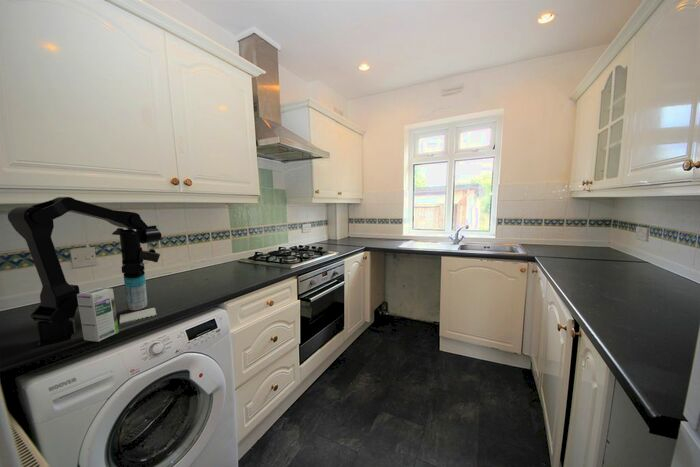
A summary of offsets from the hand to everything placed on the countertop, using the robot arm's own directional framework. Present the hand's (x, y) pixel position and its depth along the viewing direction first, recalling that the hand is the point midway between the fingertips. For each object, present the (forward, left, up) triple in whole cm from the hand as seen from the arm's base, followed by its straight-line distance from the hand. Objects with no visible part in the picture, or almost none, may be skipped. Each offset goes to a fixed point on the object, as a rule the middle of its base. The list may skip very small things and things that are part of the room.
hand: (135, 285), depth 99 cm
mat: (0, -9, -9) cm, 13 cm away
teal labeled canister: (0, -2, -8) cm, 8 cm away
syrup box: (-9, -21, -9) cm, 24 cm away
